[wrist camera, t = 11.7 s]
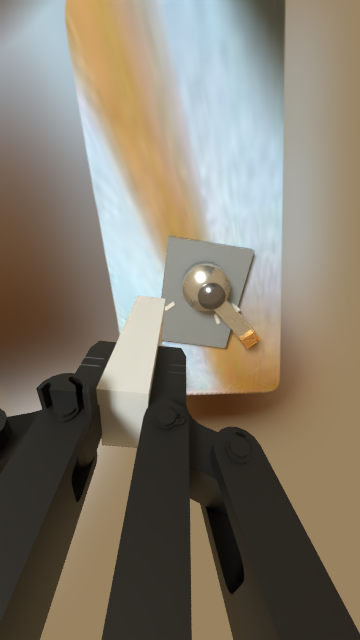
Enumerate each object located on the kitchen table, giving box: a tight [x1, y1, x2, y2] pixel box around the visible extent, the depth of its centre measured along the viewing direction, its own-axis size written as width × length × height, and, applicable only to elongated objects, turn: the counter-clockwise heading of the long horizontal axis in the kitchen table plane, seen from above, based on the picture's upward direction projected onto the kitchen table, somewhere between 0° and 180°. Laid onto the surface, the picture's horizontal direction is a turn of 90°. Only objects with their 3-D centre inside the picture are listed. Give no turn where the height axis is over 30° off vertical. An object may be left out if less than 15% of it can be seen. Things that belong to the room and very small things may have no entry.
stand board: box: [161, 236, 254, 348], centre depth 38 cm, size 18×14×2 cm
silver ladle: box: [182, 261, 260, 349], centre depth 36 cm, size 16×7×4 cm, turn 41°
